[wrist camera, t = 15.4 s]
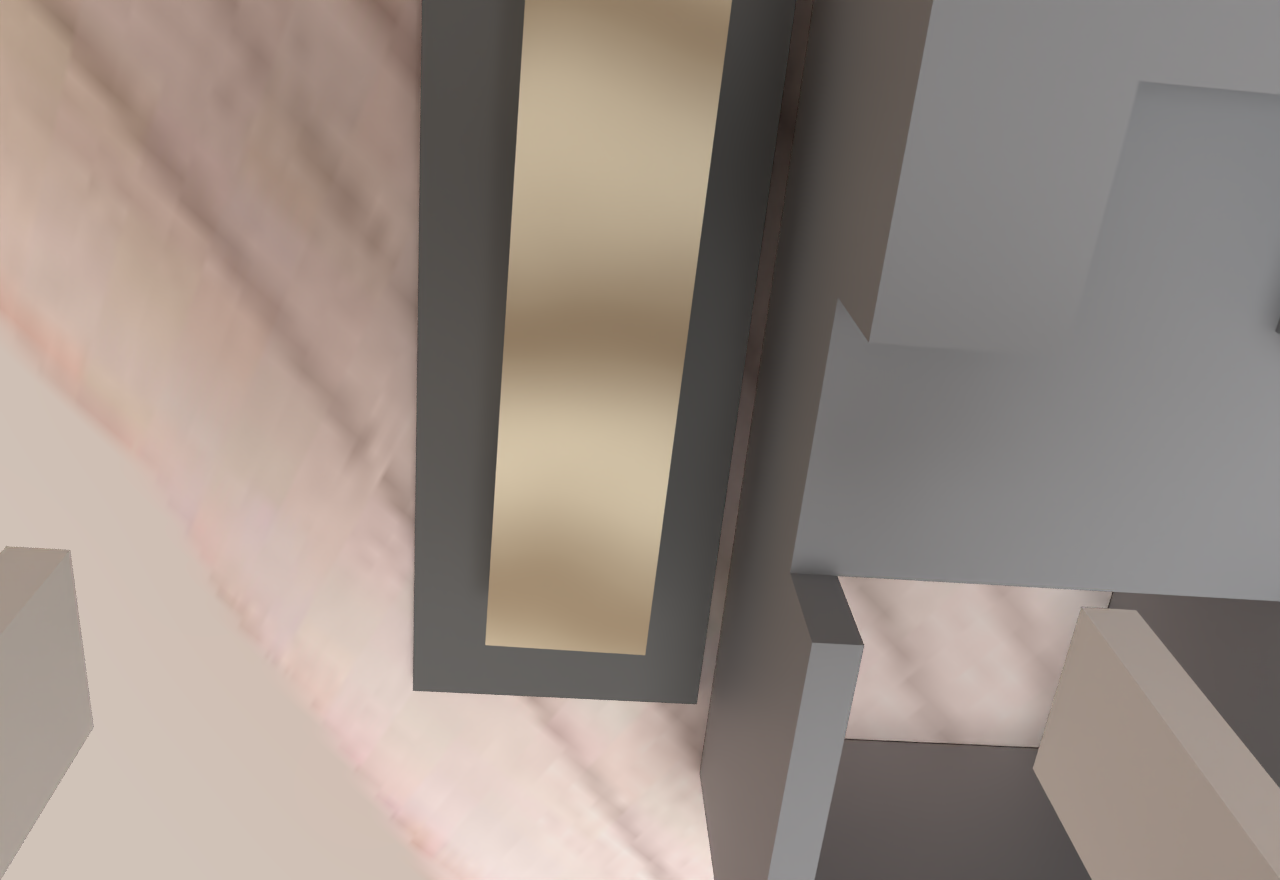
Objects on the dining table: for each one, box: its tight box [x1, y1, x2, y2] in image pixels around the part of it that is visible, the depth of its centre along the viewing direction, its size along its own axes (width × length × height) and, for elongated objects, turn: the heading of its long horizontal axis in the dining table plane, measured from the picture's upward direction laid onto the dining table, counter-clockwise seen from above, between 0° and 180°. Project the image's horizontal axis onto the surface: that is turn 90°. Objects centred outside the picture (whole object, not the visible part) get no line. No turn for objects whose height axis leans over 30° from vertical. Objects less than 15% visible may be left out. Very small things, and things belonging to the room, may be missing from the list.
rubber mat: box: [413, 0, 796, 704], centre depth 28 cm, size 20×8×1 cm, turn 175°
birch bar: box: [485, 0, 732, 655], centre depth 26 cm, size 18×4×2 cm, turn 174°
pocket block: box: [700, 0, 1280, 880], centre depth 26 cm, size 23×12×9 cm, turn 175°
